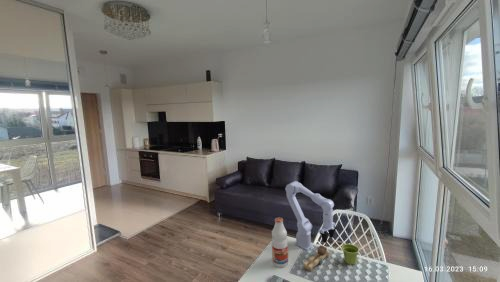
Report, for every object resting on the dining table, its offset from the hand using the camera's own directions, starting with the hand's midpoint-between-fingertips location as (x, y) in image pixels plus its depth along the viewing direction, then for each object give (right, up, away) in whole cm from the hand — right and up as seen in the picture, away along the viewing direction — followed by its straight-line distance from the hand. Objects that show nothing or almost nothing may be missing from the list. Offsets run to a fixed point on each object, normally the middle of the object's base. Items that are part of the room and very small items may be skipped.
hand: (327, 239), depth 146 cm
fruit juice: (-31, -12, -6) cm, 34 cm away
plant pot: (+11, -10, -8) cm, 17 cm away
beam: (-9, -11, -7) cm, 16 cm away
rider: (-5, -8, -3) cm, 10 cm away
